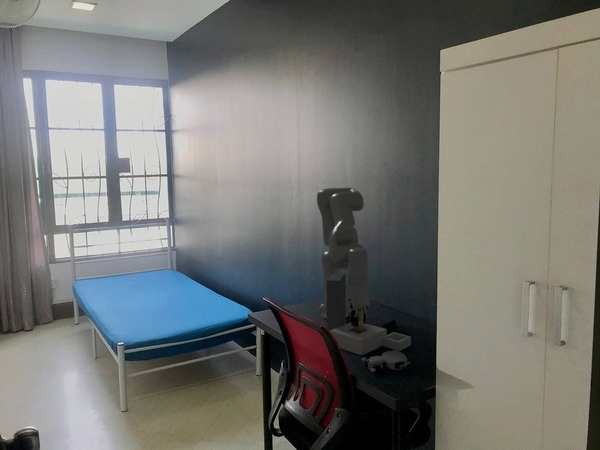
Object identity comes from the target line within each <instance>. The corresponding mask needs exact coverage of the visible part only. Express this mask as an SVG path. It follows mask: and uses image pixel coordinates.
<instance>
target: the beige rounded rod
mask: <svg viewBox="0 0 600 450" xmlns="http://www.w3.org/2000/svg"><path fill="white" fill-rule="evenodd" d="M353 312H354V313H355V310H353ZM357 317H358V327H355V326H353V328H354V332H356V333H359V334H360V333H362V332H364V312H363V307H362V308H360V309H358V313H357Z"/></svg>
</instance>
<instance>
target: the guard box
mask: <svg viewBox="0 0 600 450" xmlns="http://www.w3.org/2000/svg"><path fill="white" fill-rule="evenodd" d="M387 331H388V330H387V329H384V328H380V326H376V325H372V324H369V323H365V324H364V332H362V333H360V334H359V333H356V332H354V328H353V326H352V325H351V321H350V322H348V323H346V324H345V325H343V326H340V327H338V328H335V329H332V330H330V332H331V333H332V335H333V336H334V337H335V339H336V341H337V342H338V344H339V346H340V348H339V349H340V350H344V351H347V352H351V353H353V354H355V355H359V356H363V355H366V354H369V353H370V352H373V351H375V350H377V349H379V348H380V347H383V346H382V337H384V336H386V335H388V334H387V333H388V332H387Z"/></svg>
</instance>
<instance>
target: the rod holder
mask: <svg viewBox="0 0 600 450" xmlns="http://www.w3.org/2000/svg"><path fill="white" fill-rule="evenodd" d="M411 345H412V336H410V335H406V334H403V333H398V332H395V331H392V332H391V333H389V334H387V335H386V336H384V337H382V346H381V347H384V348H389V349H392V350H395V349H397V350H396V351H399V352H401V351H402V350H404V349H406V348H408V347H410V346H411Z"/></svg>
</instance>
